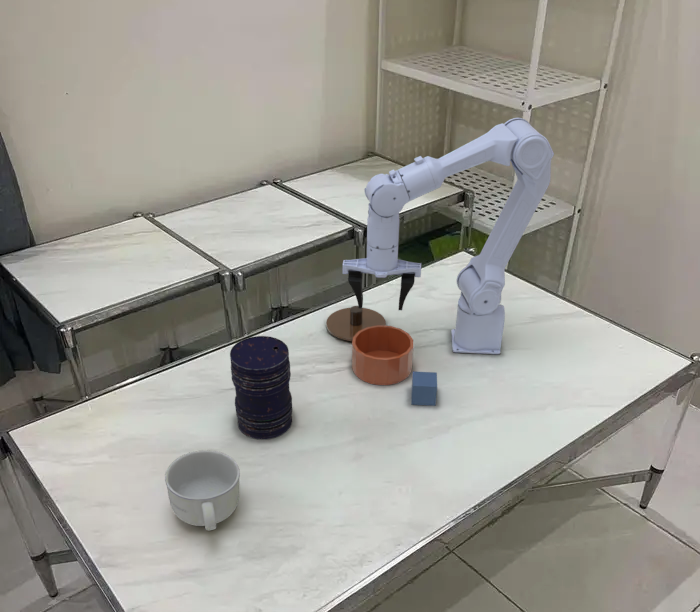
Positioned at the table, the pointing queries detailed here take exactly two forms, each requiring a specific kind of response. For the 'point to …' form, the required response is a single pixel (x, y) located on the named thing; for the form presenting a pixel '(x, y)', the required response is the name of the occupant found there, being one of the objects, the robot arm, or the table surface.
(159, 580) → the table surface
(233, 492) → the teacup
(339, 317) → the lid
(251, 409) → the storage jar
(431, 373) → the block
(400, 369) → the bowl
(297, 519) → the table surface
